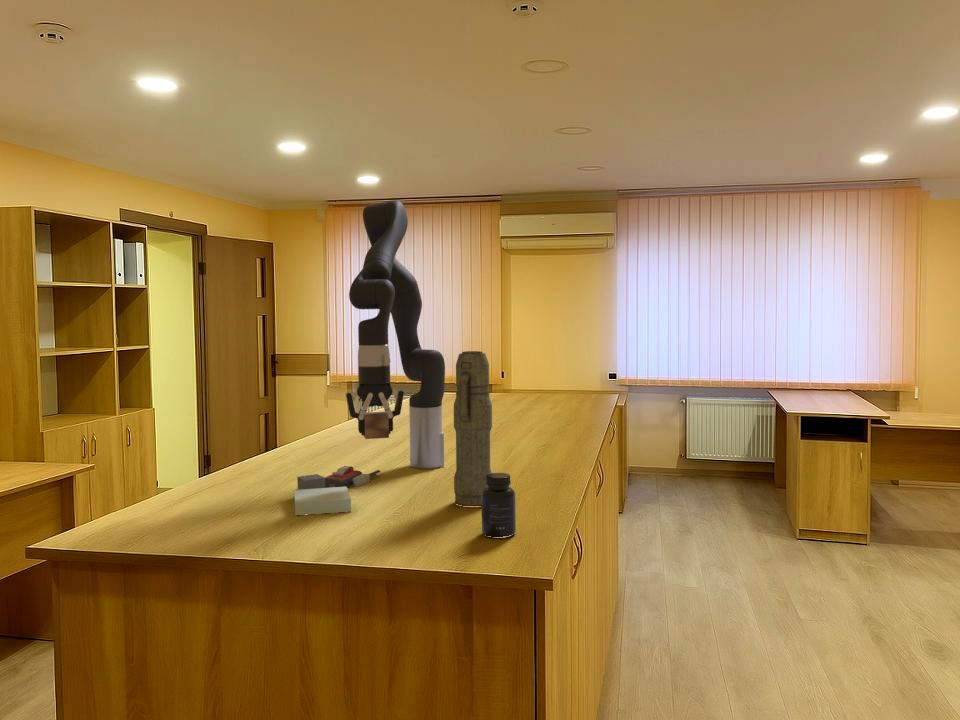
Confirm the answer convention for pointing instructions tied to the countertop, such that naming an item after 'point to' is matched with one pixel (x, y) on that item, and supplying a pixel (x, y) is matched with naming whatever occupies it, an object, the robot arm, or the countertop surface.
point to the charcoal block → (310, 482)
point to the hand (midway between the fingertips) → (375, 433)
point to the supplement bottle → (498, 506)
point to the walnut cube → (376, 425)
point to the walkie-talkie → (347, 477)
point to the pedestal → (322, 500)
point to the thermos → (472, 427)
